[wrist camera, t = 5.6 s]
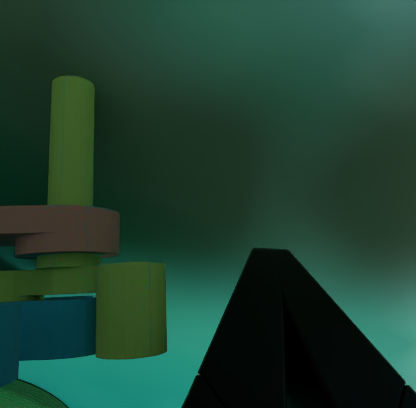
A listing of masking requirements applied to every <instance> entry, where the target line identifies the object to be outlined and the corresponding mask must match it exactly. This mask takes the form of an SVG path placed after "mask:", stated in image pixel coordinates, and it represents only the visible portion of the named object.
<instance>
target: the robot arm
mask: <svg viewBox="0 0 416 408" xmlns="http://www.w3.org/2000/svg"><path fill="white" fill-rule="evenodd" d="M405 384H406V382H405V380H404V379H403V378H402V377H401V376H400V375H399V373H398V372H397V371H396V370H395V369H394V368H393V367H392V366H391V364H390V363H389V362H388V361H387V360H386V359H385V358H384V357H383V355H382V354H381V353H380V352H379V351H378V350H377V349H376V348H375V346H374V345H373V344H372V343H371V342H370V341H369V340H368V339H367V337H366V336H365V335H364V334H363V333H362V332H361V331H360V330H359V328H358V327H357V326H356V325H355V324H354V323H353V322H352V321H351V319H350V318H349V317H348V316H347V315H346V314H345V313H344V312H343V310H342V309H341V308H340V307H339V306H338V305H337V304H336V303H335V301H334V300H333V299H332V298H331V297H330V296H329V295H328V294H327V293H326V291H325V290H324V289H323V288H322V287H321V286H320V285H319V284H318V282H317V281H316V280H315V279H314V278H313V277H312V276H311V275H310V273H309V272H308V271H307V270H306V269H305V268H304V267H303V266H302V264H301V263H300V262H299V261H298V260H297V259H296V258H295V257H294V255H293V254H292V253H291V252H290V251H289V250H287V249H272V248H271V249H270V248H253V249H252V250H251V252H250V255H249V257H248V259H247V261H246V264H245V266H244V268H243V271H242V273H241V275H240V277H239V280H238V282H237V284H236V286H235V289H234V291H233V293H232V296H231V298H230V300H229V302H228V305H227V307H226V309H225V312H224V314H223V316H222V318H221V321H220V323H219V325H218V327H217V330H216V332H215V334H214V337H213V339H212V341H211V343H210V346H209V348H208V350H207V352H206V355H205V357H204V359H203V362H202V364H201V366H200V368H199V371H198V375H197V376H196V377H195V379H194V381H193V384H192V386H191V388H190V390H189V393H188V395H187V397H186V399H185V401H184V403H183V405H182V407H181V408H416V392H415V391H414V390H413V389H412V388H411V387H410V386H409V385H406V386H405Z"/></svg>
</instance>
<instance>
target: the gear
mask: <svg viewBox="0 0 416 408" xmlns="http://www.w3.org/2000/svg"><path fill="white" fill-rule="evenodd" d="M94 99H95V87H94V84H93V83H92V82H90V81H89V80H87V79H84V78H82V77H78V76H60V77H57V78H55V79H54V80H53V81H52V94H51V120H50V146H49V172H48V198H47V205H22V206H0V246H15V254H14V256H15V257H17V258H24V259H36V270H13V271H0V388H1V387H3V386H6V385H8V384H10V383H12V382H13V381H14V380H16V379H17V378H18V368H19V361H25V360H52V359H66V358H75V357H82V356H88V355H94V354H96V357H97V358H101V359H135V358H144V357H151V356H156V355H160V354H163V353H165V352H166V351H167V326H166V281H165V263H164V262H119V263H105V264H100V260H101V258H106V257H114V256H118V255H120V214H119V213H118V212H117V211H114V210H111V209H107V208H101V207H94V206H93V166H94ZM76 293H96V297H93V296H72V297H50V298H44V295H53V294H76Z"/></svg>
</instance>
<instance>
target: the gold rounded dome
mask: <svg viewBox="0 0 416 408" xmlns="http://www.w3.org/2000/svg"><path fill="white" fill-rule="evenodd" d="M0 408H67V407H66V406H65V405H64V404H63V403H62V402H61V401H59V400H58V399H56V398H55V397H53V396H52V395H50V394H49V393H47V392H45V391H43V390H41V389H39V388H37V387H35V386H33V385H30V384H27V383H25V382H22V381H19V380H14V381H13V382H12V383H10V384H8V385H6V386H3V387H1V388H0Z"/></svg>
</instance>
